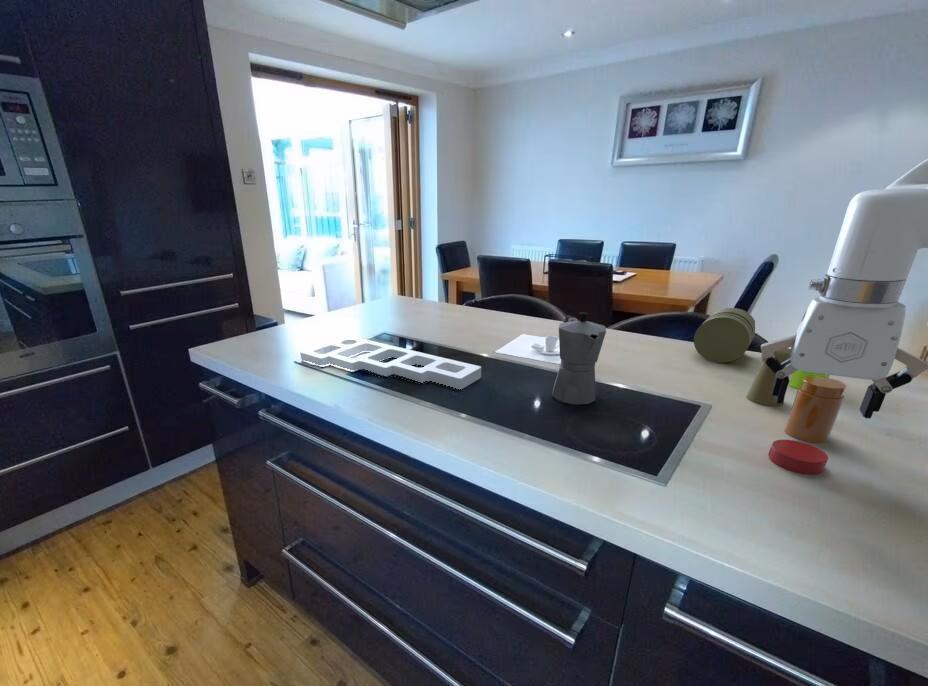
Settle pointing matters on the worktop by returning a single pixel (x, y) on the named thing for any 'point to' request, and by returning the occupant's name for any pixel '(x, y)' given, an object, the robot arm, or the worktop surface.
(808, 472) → the jam lid
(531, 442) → the worktop surface
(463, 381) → the holder
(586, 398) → the coffeepot
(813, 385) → the jam jar
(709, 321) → the piston
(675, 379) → the worktop surface
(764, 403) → the cork
